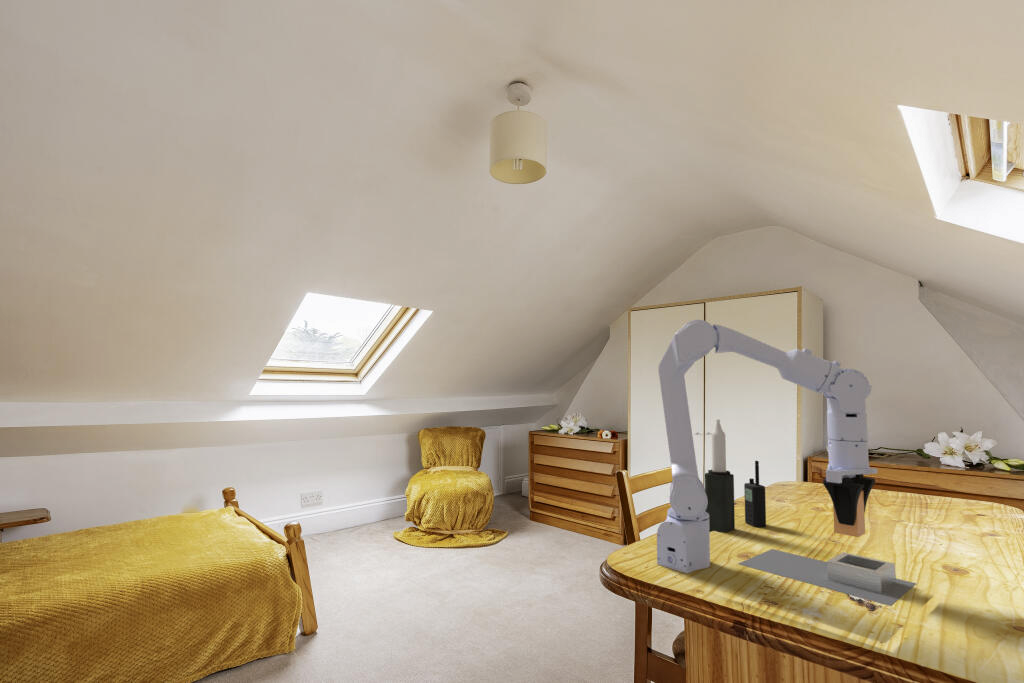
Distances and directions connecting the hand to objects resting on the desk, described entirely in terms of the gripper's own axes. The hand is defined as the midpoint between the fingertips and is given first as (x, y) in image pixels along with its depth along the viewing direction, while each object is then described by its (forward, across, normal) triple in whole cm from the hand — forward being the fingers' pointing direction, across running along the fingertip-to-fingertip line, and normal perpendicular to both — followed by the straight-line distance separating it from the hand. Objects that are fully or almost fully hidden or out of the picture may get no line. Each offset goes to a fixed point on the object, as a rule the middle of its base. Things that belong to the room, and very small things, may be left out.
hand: (850, 522), depth 89 cm
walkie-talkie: (+10, +25, +28) cm, 39 cm away
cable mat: (+10, -1, +4) cm, 11 cm away
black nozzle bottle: (+10, +12, +30) cm, 34 cm away
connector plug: (+2, 0, 0) cm, 2 cm away
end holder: (+10, 0, -1) cm, 10 cm away
